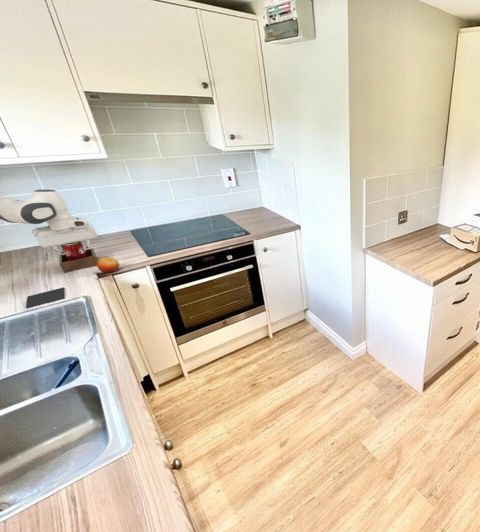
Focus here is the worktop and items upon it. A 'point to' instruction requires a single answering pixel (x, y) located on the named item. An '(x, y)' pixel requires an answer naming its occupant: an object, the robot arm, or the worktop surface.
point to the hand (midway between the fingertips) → (75, 250)
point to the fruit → (107, 265)
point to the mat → (45, 297)
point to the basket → (78, 262)
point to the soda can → (74, 250)
